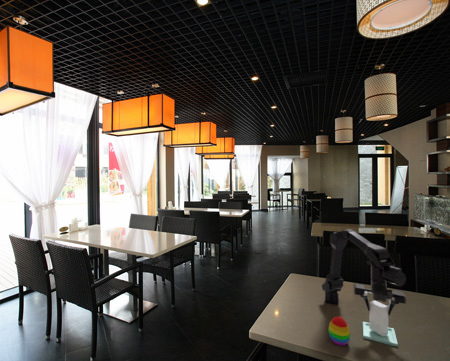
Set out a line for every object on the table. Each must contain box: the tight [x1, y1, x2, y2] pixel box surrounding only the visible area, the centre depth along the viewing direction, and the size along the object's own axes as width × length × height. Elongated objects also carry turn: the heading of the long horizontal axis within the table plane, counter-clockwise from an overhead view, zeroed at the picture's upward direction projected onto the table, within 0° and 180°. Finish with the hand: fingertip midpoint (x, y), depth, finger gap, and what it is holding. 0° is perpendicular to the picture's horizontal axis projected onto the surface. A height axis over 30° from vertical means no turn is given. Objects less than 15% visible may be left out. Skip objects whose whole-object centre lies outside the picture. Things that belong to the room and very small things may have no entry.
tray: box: [362, 321, 399, 348], centre depth 108 cm, size 12×12×1 cm
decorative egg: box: [328, 316, 351, 346], centre depth 103 cm, size 8×8×10 cm
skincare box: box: [368, 300, 389, 336], centre depth 108 cm, size 6×4×12 cm
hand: (378, 312), depth 108 cm, fingers closed on skincare box, 7 cm apart
